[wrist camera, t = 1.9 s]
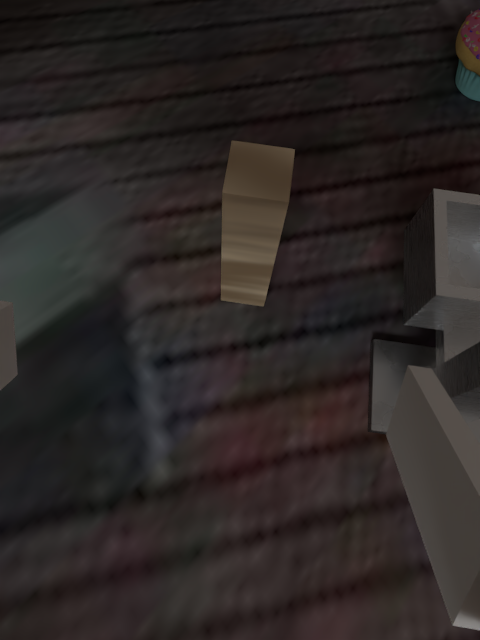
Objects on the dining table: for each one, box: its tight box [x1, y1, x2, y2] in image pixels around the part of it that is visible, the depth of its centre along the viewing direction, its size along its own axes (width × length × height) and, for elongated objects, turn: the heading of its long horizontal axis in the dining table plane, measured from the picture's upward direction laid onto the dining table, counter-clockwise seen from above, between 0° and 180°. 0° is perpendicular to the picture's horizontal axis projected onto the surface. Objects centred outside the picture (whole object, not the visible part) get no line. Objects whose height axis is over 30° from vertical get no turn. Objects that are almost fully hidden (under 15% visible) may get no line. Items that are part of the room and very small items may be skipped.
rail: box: [221, 140, 295, 306], centre depth 31 cm, size 4×4×14 cm
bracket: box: [368, 189, 480, 444], centre depth 30 cm, size 14×9×12 cm, turn 172°
